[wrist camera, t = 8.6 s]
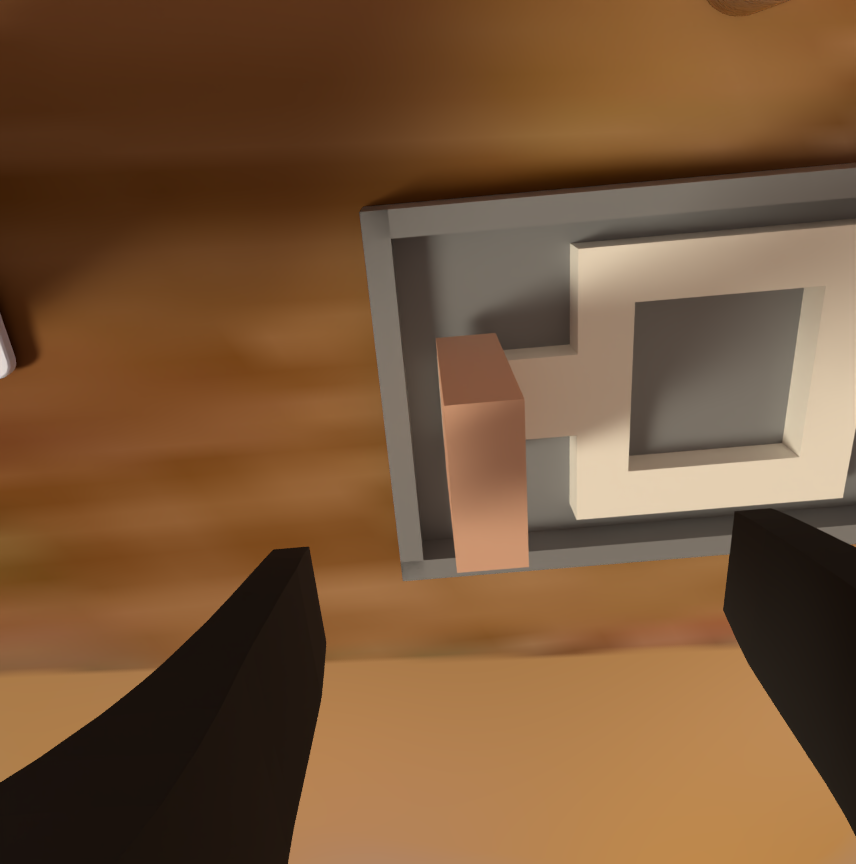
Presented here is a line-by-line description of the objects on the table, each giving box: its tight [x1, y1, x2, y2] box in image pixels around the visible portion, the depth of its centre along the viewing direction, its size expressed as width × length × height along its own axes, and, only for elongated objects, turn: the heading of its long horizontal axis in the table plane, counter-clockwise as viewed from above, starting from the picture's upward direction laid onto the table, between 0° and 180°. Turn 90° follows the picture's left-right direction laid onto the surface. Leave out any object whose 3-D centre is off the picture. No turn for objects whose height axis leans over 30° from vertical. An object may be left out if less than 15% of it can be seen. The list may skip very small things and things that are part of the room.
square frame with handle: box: [436, 218, 856, 573], centre depth 17 cm, size 12×8×6 cm
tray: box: [359, 163, 856, 581], centre depth 19 cm, size 16×11×2 cm
